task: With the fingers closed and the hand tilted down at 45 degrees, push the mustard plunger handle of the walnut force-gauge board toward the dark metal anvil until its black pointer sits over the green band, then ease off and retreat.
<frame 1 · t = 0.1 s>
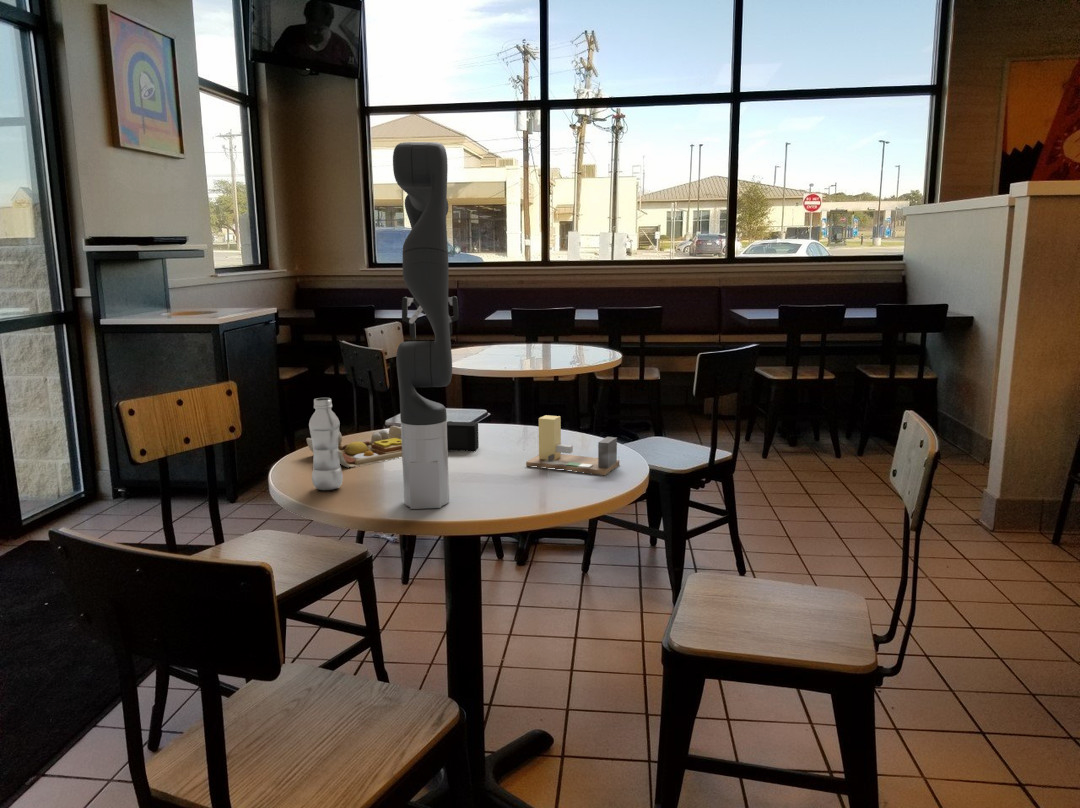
hand: (431, 337, 201), 29 cm above the table, tool pointing down, fingers open, 8 cm apart
plastic bottle: (328, 490, 172), on the table
toy food set: (368, 456, 202), on the table
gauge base: (572, 465, 189), on the table
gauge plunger: (554, 439, 189), point 6 cm above the table, slide at 0.0 cm
digital camera: (458, 449, 207), on the table
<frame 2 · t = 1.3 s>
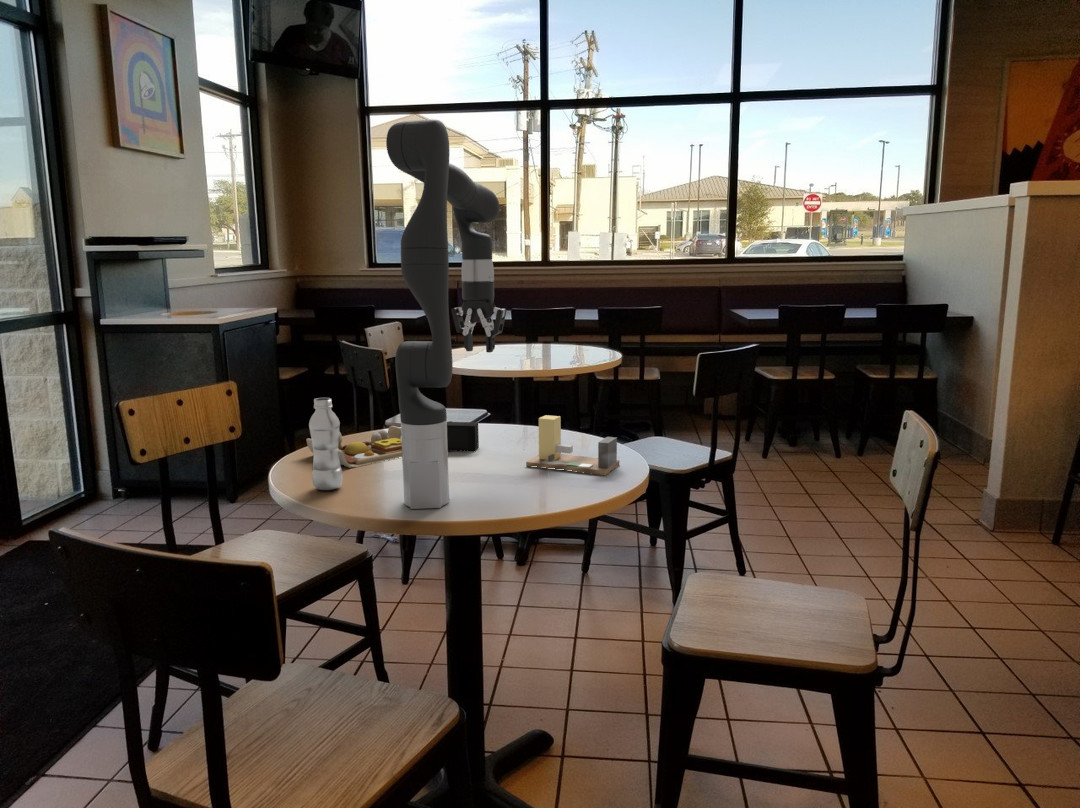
hand: (479, 351, 188), 27 cm above the table, tool pointing down, fingers open, 5 cm apart
nothing on the table moved.
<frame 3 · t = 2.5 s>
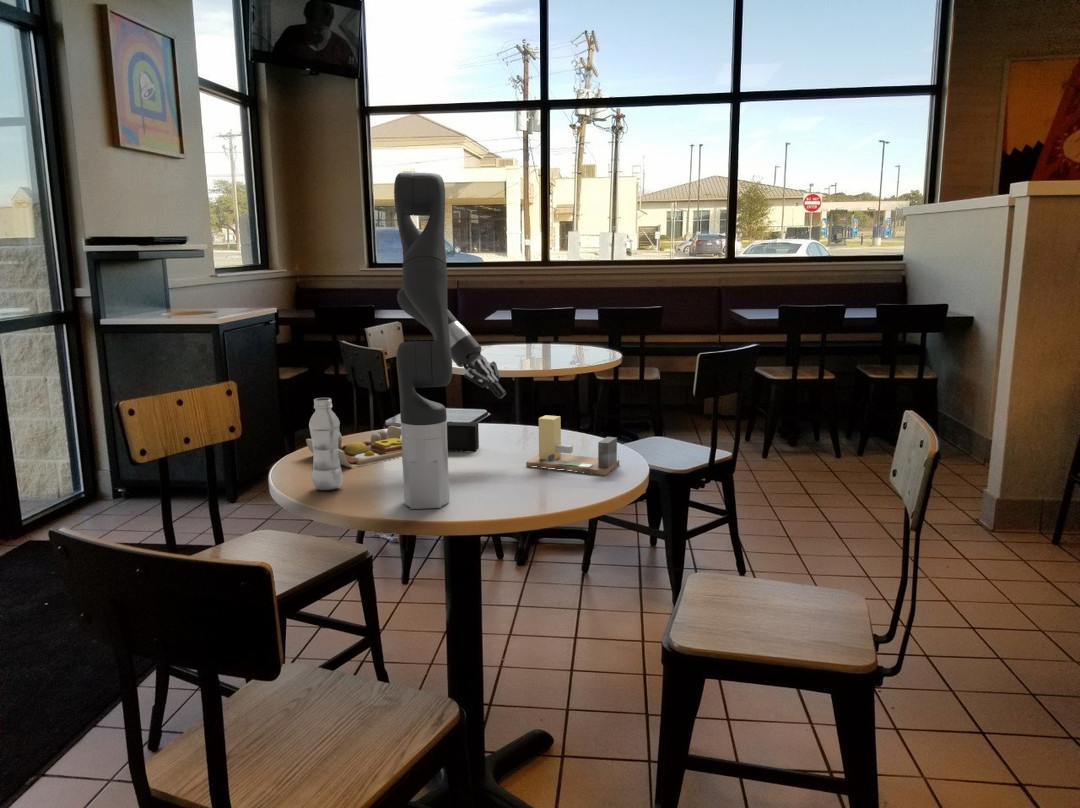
hand: (502, 396, 194), 16 cm above the table, tool tilted 45°, fingers closed
nothing on the table moved.
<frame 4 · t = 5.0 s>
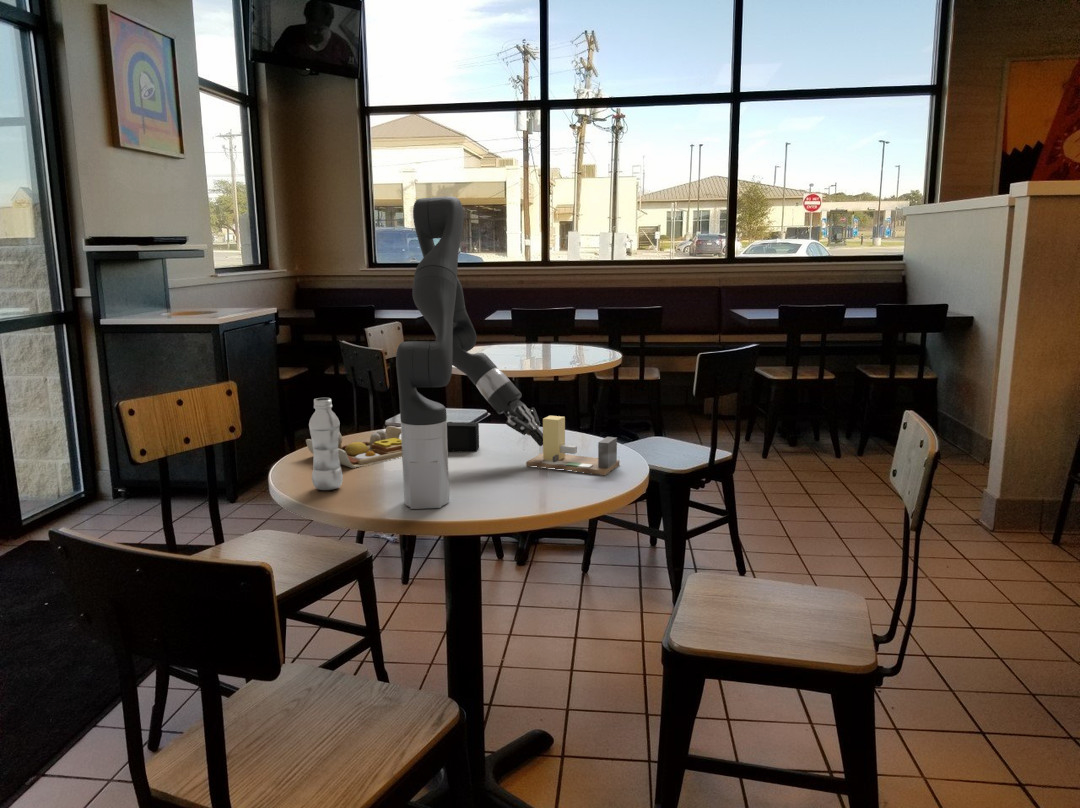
hand: (544, 443, 191), 5 cm above the table, tool tilted 45°, fingers closed
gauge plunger: (559, 439, 188), point 6 cm above the table, slide at 1.1 cm, touching gripper
everything else where it was.
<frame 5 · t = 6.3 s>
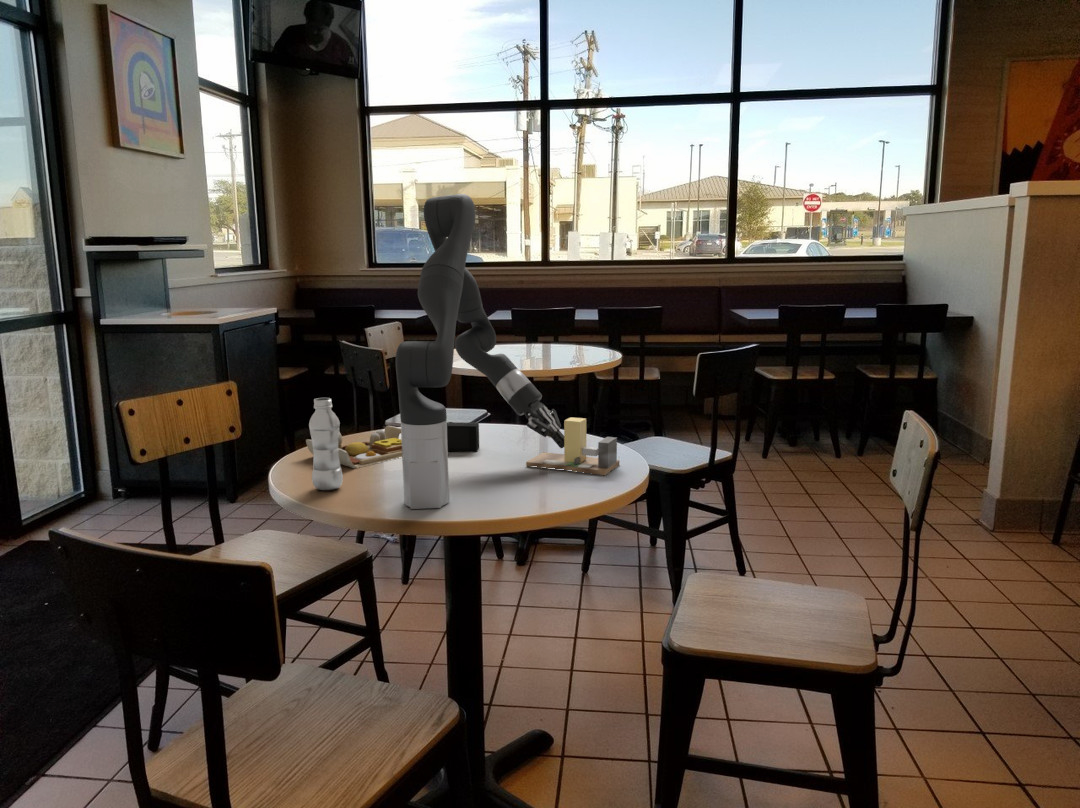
hand: (565, 445, 189), 5 cm above the table, tool tilted 45°, fingers closed
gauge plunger: (580, 441, 186), point 6 cm above the table, slide at 6.7 cm, touching gripper
everything else where it was.
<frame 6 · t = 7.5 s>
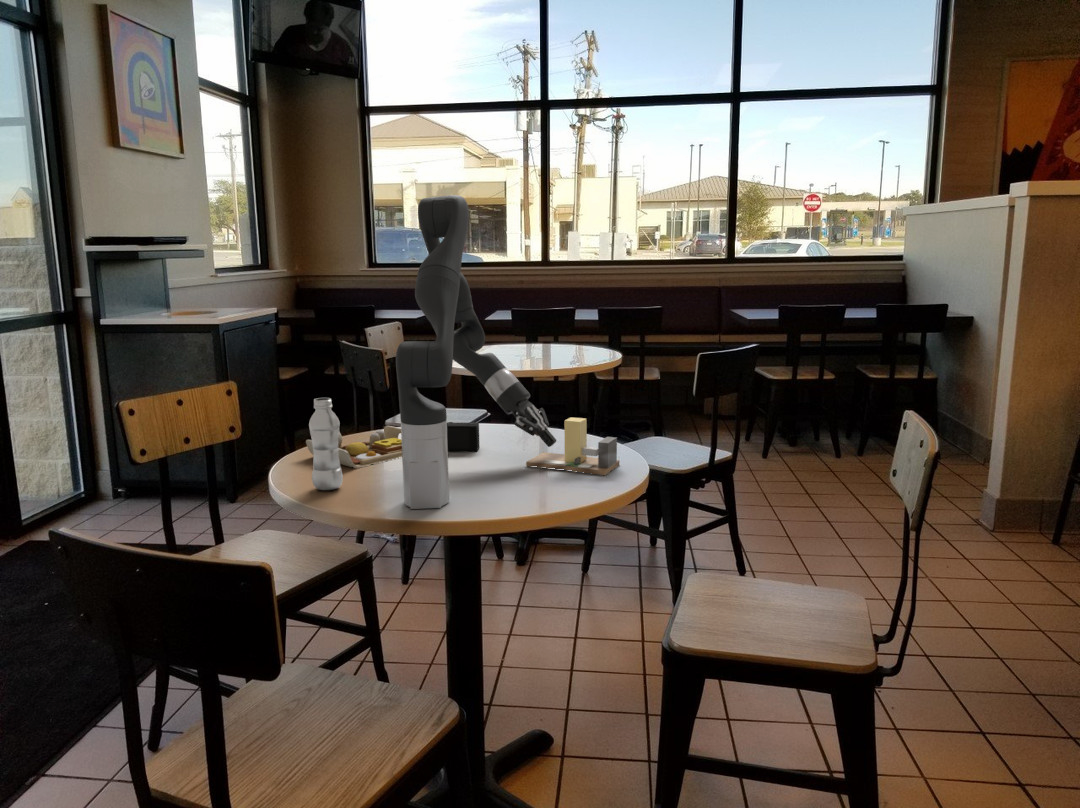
hand: (553, 444, 190), 5 cm above the table, tool tilted 45°, fingers closed
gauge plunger: (581, 441, 186), point 6 cm above the table, slide at 6.7 cm
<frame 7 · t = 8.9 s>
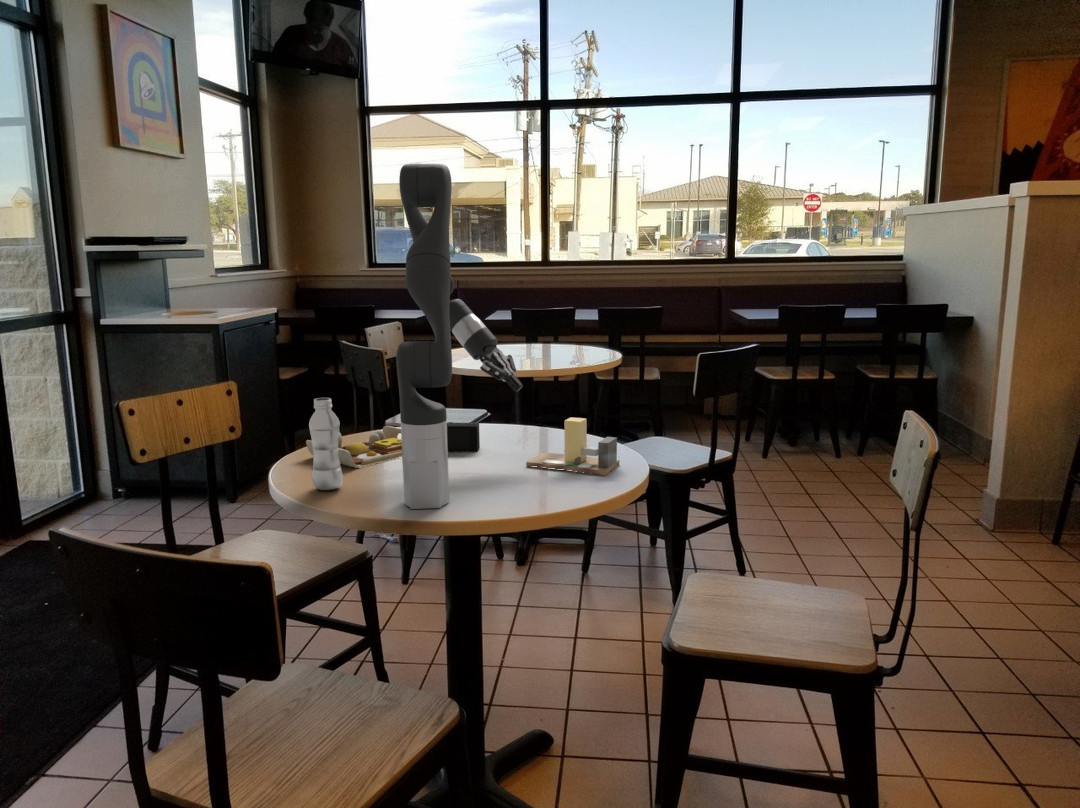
hand: (519, 389, 191), 18 cm above the table, tool tilted 45°, fingers closed
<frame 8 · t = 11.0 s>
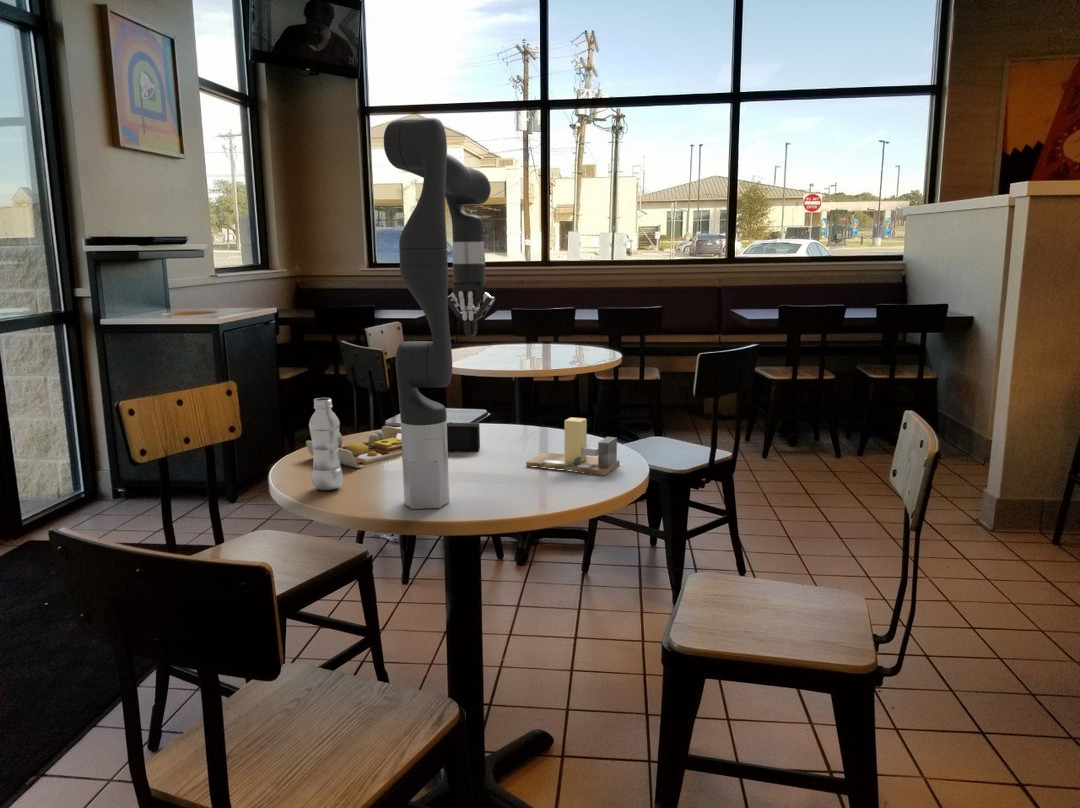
hand: (470, 336, 187), 31 cm above the table, tool pointing down, fingers closed
at the end: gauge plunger slide at 6.7 cm; the gripper is holding nothing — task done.
